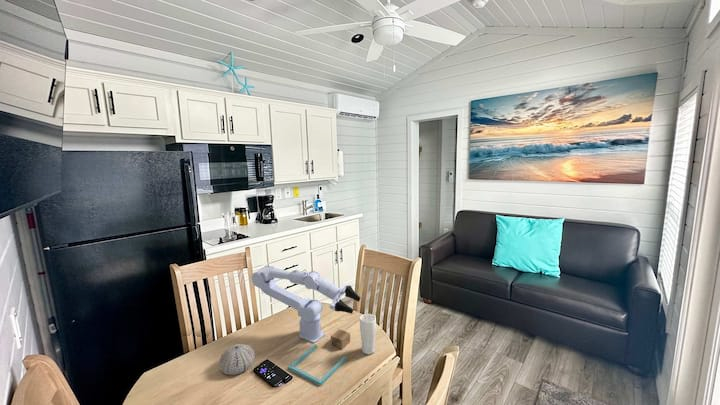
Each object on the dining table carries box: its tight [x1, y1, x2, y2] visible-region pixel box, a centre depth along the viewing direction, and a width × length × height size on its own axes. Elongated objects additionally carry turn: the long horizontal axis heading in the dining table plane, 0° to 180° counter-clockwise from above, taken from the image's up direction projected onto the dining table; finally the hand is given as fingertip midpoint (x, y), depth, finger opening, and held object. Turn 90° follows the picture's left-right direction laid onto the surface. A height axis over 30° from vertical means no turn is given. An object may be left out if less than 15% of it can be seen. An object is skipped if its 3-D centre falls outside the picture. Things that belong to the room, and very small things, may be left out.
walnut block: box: [330, 328, 351, 350], centre depth 128 cm, size 6×6×4 cm
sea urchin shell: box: [218, 343, 256, 376], centre depth 116 cm, size 13×14×8 cm
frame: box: [287, 343, 347, 387], centre depth 116 cm, size 16×16×1 cm
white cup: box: [359, 313, 377, 355], centre depth 122 cm, size 7×7×15 cm
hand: (356, 305), depth 125 cm, fingers open, 7 cm apart
